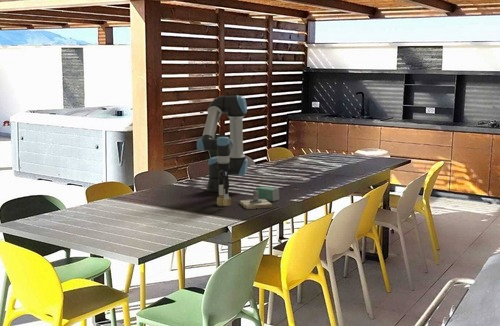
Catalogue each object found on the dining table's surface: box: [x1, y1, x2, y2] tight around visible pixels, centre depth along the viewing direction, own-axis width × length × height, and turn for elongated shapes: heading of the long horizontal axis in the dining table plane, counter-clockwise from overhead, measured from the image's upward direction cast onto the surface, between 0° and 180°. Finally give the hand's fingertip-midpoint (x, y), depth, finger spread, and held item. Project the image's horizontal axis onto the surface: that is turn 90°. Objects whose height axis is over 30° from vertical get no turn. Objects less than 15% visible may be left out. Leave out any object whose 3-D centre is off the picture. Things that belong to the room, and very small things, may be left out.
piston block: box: [239, 189, 273, 210], centre depth 361 cm, size 16×16×9 cm
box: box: [255, 186, 280, 202], centre depth 380 cm, size 7×14×8 cm, turn 52°
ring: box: [216, 195, 232, 207], centre depth 365 cm, size 8×8×4 cm
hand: (223, 197), depth 364 cm, fingers open, 13 cm apart
